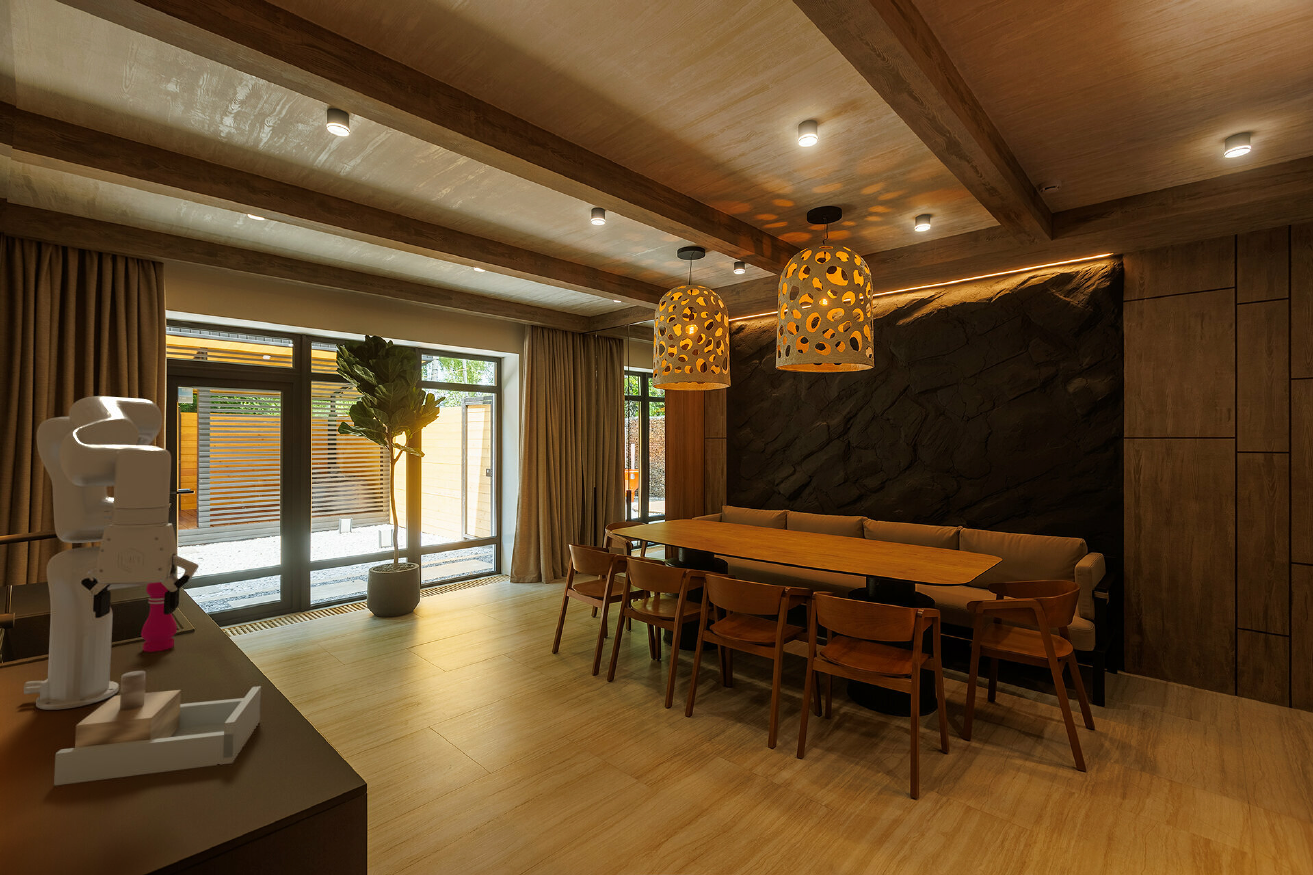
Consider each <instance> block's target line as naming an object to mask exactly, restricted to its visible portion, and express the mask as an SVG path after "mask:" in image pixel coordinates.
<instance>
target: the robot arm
mask: <svg viewBox="0 0 1313 875" xmlns="http://www.w3.org/2000/svg"><path fill="white" fill-rule="evenodd" d="M162 425H163V415H162V412H161V410H160V407H159V406H158V405H157V404H156V403H155V402H153V401H152V400H149V399H144V398H131V397H116V396H102V395H97V396H96V395H95V396H87V397H84V398H81V399H78V400H77V401H75V402H74V403H73V404H72V406H70V409H69V411H68V416H58V417H52V418H51V417H50V418H48V419H46V420H44V421H42V422H41V423H40V424H39V425H38V428H37V431H36V445H37V452H38V455H39V458H40V459H41V462H42V464H43V466H44V468H45V470H46V472H47V473H48V476H49V478H50V480H51V485H52V503H53V504H52V505H53V519H54V520H53V521H54V522H53V523H54V531H55V534H56V536H57V538H58V539H59V540H60V541H61V542H64V543H68V544H69V543H70V544H74V543H75V544H79V543H83V544H84V543H96V542H97V543H98V542H100V545H96V546H86V547H77V548H71V549H66V550H63V551H60V552H58V553H57V554H55V555H53V556H51V558H50V559H49V561H48V562H47V564H46V579H47V584H48V592H49V600H50V623H49V624H50V626H49V647H48V666H47V667H48V668H47V678H46V679H45V680H28V681H26V682H25V683H24V685H23V694H24V695H33V694H37V693H38V694H39V695H40V696H39V697H37V699H36V700H35V706H36V708H37V709H40V710H46V711H47V710H48V711H51V710H52V711H54V710H55V711H56V710H58V711H59V710H67V709H74V708H79V707H84V706H88V705H91V704H95V703H98V702H101V701H104V700H106V699H108V698H109V699H110V698H112V697H114V696H115V694H117V693H118V692H119V689H120V685H119V683H118V682H115V681H113V680H112V681H111V680H110V679H111V658H112V656H111V655H112V636H113V634H112V633H113V615H114V614H113V610H112V607H111V600H112V598H111V596H112V595H111V594H112V592H111V590H117V589H123V588H124V589H125V588H133V587H138V586H139V587H140V586H143V585H148V583H157V582H161V583H162V584H163V585H164V586H165V587H166V588H167V589H168V591H167V592H166V593H165V594H164V614H165V615H167V614H170V613H171V614H173V612H175V611H176V609H178V607H179V605H180V589H181V588H182V587H183V586H185V585H186V584H187V583H188V582H189V581H190V580H192V578H193V576H194V575H195V573H196V572H197V570H198V569H199V564H197V563H195V562H193V561H191V560H187V559H186V558H183V557H181V556H178V555H177V544H176V543H177V542H176V535H175V531H174V526H173V523H171V522H170V523H169V515H170V514H169V512H170V511H169V510H170V492H171V491H170V490H171V489H170V488H171V472H172V455H171V452H170V451H169V450H167V449H165V448H161V447H159V446H156V445H155V446H154V445H151V443H152V442H153V441H154V440H155V439H156V438H157V436H158V435H159V433H160V431H161V429H162ZM107 487H113V497H112V496H111V497H110V496H109V495H108V492H107ZM178 567H179V568H181V569H184V573H183V574H182V576H180V578H178V577H177V576H176V572H177V568H178Z"/></svg>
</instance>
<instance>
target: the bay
mask: <svg viewBox="0 0 1313 875" xmlns="http://www.w3.org/2000/svg"><path fill="white" fill-rule="evenodd" d="M261 694H262V686H260V685H259V686H252V687H251V688H250V690H249V691H248V692H247V693H246V695H245V696H244V697H241V698H230V699H221V700H219V699H218V700H210V701H199V702H189V703H188V702H187V703H180V723H179V728H178V729H177V731H176V732H175V733H174V734H173V735H172V736H171V737H169V738H160V739H151V740H142V741H133V742H124V743H115V744H105V745H96V746H87V747H78V748H75V747H70V748H63V749H60V750H58V751H57V752H56V753H55V758H54V760H55V761H54V778H53V779H54V780H53V782H54V783H53V786H60V785H69V784H78V783H84V782H85V783H86V782H92V781H99V780H101V781H102V780H108V779H109V780H110V779H115V778H123V777H132V776H139V775H140V776H141V775H146V774H147V775H148V774H157V773H164V772H172V771H180V770H187V769H195V768H202V767H204V768H205V767H213V766H218V765H217V764H220V765H226V764H233V763H234V762H235V760H236V758H237V756H239V754H238V753H241V751H242V749H243V748H244V746H245V745H246V744H247V743H248V742H247V741H248V740H249V739H250V737H251V736H252V735H253V733H254V732H255V730H256V728H257V727H258V725H259V724H258V723H260V722H261V721H260V719H261V697H262V695H261ZM256 726H257V727H256ZM254 729H255V730H254ZM242 747H243V748H242Z"/></svg>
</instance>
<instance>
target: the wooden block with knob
mask: <svg viewBox="0 0 1313 875" xmlns="http://www.w3.org/2000/svg"><path fill="white" fill-rule="evenodd" d="M146 673H147V672H146V671H144V670H135V671H129V672H126V673H124V674H122V675H121V678H120V679H121V680H120V694H119V695H113V696H111V697H110V698H109V699H108V700H107V701H106V702H105V703H102V705H100V706H99V707H98V708H97V709H95V710H93V712H91V713H90V714H89V715H88V716H86V717H85V718H84V719H82V720H81V721H80V722H79V723H77V724H76V725H75V740H74V741H75V742H74V743H75V745H74V748H78V747H87V746H96V745H105V744H115V743H124V742H133V741H142V740H151V739H160V738H169V737H171V736H172V735H173V734H174V733H175V732H176V731H177V729H178V728H179V723H180V704H181V696H182V694H181V693H182V690H181V689H177V690H176V689H175V690H167V691H166V690H165V691H152V692H146Z"/></svg>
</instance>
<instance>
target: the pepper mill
mask: <svg viewBox="0 0 1313 875" xmlns="http://www.w3.org/2000/svg"><path fill="white" fill-rule="evenodd" d="M145 589H146V594H147V595H149V597H148V598H147V599H148V601H147V603H148V604H150V605H149V607H150V609H149V613H148V617H147V618H146V621H145V622H144V624H143V626H142V629H141V636H140V637H141V638H142V639H143V640H144V643H143V644H142V650H143V651H144V652H148V653H149V652H150V653H153V652H162V651H166V650H169V649H172V648H174V646H175V639H174V638H173V637H174V636H175V635H176V633H177V631H178V627H177V623H176V620H175V618H174V616H173V613H170V614H167V615H165V614H164V594H165V593H166V592H167V591H168V589H167V588H166V587H165V586H164V585H163V584H162V583H161V582H157V583H147V584H146V588H145Z"/></svg>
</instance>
